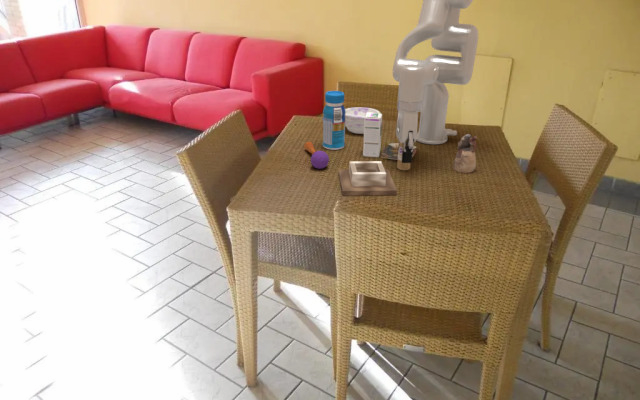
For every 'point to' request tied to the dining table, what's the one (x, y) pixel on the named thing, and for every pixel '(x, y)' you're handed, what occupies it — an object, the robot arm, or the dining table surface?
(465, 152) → the figurine
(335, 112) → the beverage bottle
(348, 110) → the paper bowls
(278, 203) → the dining table surface
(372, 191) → the socket board
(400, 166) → the sprinkles bottle
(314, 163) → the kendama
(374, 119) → the syrup box
